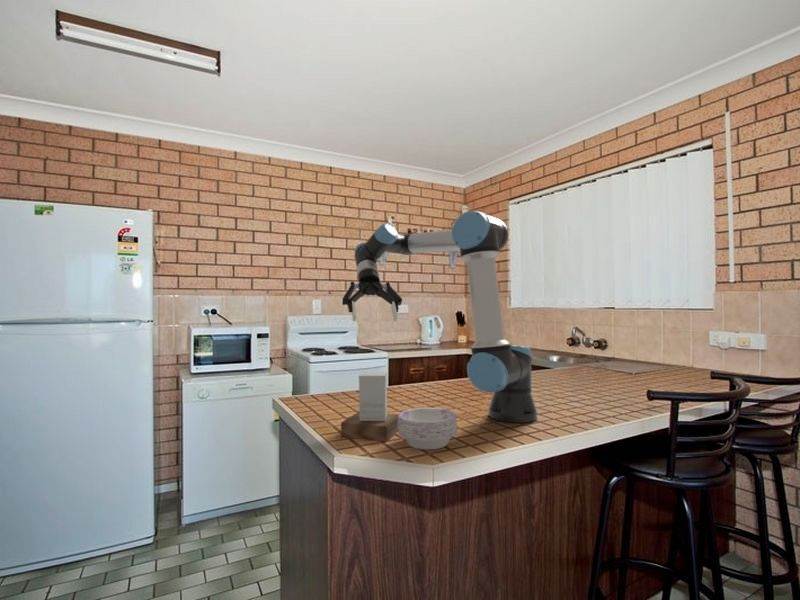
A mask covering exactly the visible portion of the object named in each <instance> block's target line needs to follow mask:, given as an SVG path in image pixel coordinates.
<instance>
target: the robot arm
mask: <svg viewBox="0 0 800 600" xmlns="http://www.w3.org/2000/svg"><path fill="white" fill-rule="evenodd" d="M508 239H509V230H508V227H507V225H506V223H504V221H502V220H501V219H500V218H497V217H494V216H492V215H489V214H487V213H485V212H483V211H478V210H469V211H468V210H467V211H465V212H463V213H462V214H460V215H459V216H458V217H457V218H456V220H455V221H454V223H453V225H452V229H448V230H437V231H427V232H426V231H424V232H415V233H406V234H403V233H402V234H401V233H398V231H397V230H396V229H395V227H394V226H393V225H390V224H388V223H382V224H381V225H380V226H379V227H378V228H377V229H376V230H375V231H374V232H373V233H372V235H371V236H370V237H369V238H368V239H367V241H366V242H365V241H364V242H361V243H358V245H356V246H355V248H354V259H355V264H356V272H357V279H358V283H355V282H354V281H350V285H349V288H348V290H347V291H346V293H345V294H344V295H343V297H342V303H341V304H342V306H347V309H348V310H347V311H348V313H351V314H352V322H356V319H357V312H356V305H355V303H356V302H358V300H359V299H360V298H362V297H364V296H365V295H366V296H377V297H378V298H381V299H383V300H385V302H387V303H388V304H390V309H391V313H392V318H393V321H394V322H396V321H397V319H398V312H399V306H401V305H402V302H403V298H402V297H401V295H399V293H397V291H395V289H393V287H392V286H391V284H390V282H389V281H387V282H386V283H384V284H382V282H381V280H380V275H379V270H378V264H377V261H378V260H379V259H380V258H381V257H383V255H384V254H385V253H386V252H387V253H391V254H392V253H393V254H399V255H400V254H401V255H402V256H411V255H414V254H425V253H427V254H428V253H439V252H440V253H441V252H459V253H460V259H461V260H462V261H463V262H464V263H465V264H466V269H467V279H468V287H469V295H470V304H471V313H472V322H473V330H474V331H473V332H474V338H475V341H474V343H472V345H471V347H470V349H471V350H470V351H471V357H470V359H469V361H468V362H467V366H466V372H467V377H468V379H469V381H470V382H471V384H472V385H473V386H474V387H475V388H476V389H477V390H480V392H484V393H492V398H491V401H490V402H489V403H490V404H489V407H488V417H489V416H490V417H489V418H491V419H493V420H495V419H496V420H497V421H499V420H500V421H501V422H504V421H505V423H506V422H507V423H513V422H514V423H516V424H522V423H523V424H524V423H531V421H532V422H535V421H537V420H538V411H537V408H536V405H535V404H536V403H535V402H534V398H533V395H532V361H533V358H532V357H533V356H532V351H531V348H530V347H528V346H523V345H515V344H514V345H512V344H511V342H509V341H508V340H507V339H506V338H505V334H504V333H505V332H504V323H503V322H504V321H503V316H502V307H501V298H500V292H499V291H500V290H499V283H498V275H497V266H496V259H497V258H498V257H499V255H500V251H501V250H502V249H503V248H504V247H505V246H506V244H507V243H508ZM356 289H358V290H357V291H356V292H355V293H354V291H355V290H356ZM536 419H537V420H536Z"/></svg>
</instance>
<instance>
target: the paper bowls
mask: <svg viewBox="0 0 800 600" xmlns="http://www.w3.org/2000/svg"><path fill="white" fill-rule="evenodd" d="M398 414H399V415H398V432H397V433H398V434H399V436H400V437H402V438H404V440H405V441H406V443H407V444H408V445H409V446H410V447H412V448H414V449H418V450H424V451H425V450H426V451H427V450H428V451H429V450H438V449H442V448H444V447H446V446H447V445H448V443H449V441H450V439H451V438H453V437H455V436H456V435H457V432H458V423H457V422H458V421H457V420H458V419H457V418H458V417H457V414H456V412H454V411H452V410H449V409H445V408H440V407H439V408H437V407H417V408H410V409H406V410H403V411H401V412H400V413H398Z"/></svg>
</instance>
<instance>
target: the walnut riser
mask: <svg viewBox="0 0 800 600" xmlns="http://www.w3.org/2000/svg"><path fill="white" fill-rule="evenodd" d="M398 415H399V413H398V414H397V413H387V417H386V420H385V421H360V419H359V411H357V412H356V413H354V414H353V415H351V416H349V417H348V418H347V419H344V420H343V421H342V422H340V426H341V427H340V429H341V430H340V435H341V436H340V438H342V437H347V438H346V439H352V438H355V439H354V440H362V439H364V440H365V441H373V442H381V441H383V442H382V443H387V442H388V441H390V440H391V439H392V438H393V437H394V436H395V435H396V434H397V433H398Z"/></svg>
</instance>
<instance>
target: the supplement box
mask: <svg viewBox="0 0 800 600" xmlns="http://www.w3.org/2000/svg"><path fill="white" fill-rule="evenodd" d="M358 390H359V391H358V393H359V394H358V397H359V398H358V399H359V401H358V403H359V404H358V407H359V408H358V410H359V411H358V412H359V419H360V421H385V420H386V417H387V414H388V372H387V371H362V372H361V373H360V375H359V376H358Z"/></svg>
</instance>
